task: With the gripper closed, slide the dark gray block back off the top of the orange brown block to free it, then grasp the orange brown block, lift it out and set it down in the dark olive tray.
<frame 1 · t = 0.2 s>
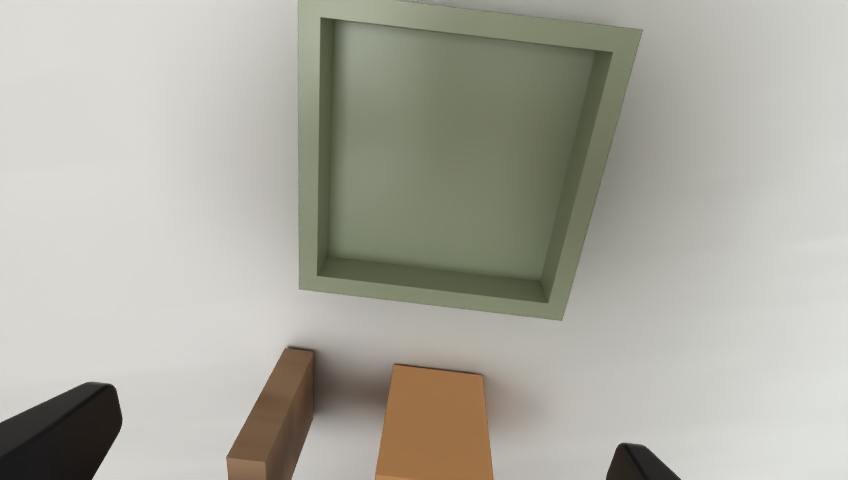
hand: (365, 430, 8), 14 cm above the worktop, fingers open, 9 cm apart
orange brown block: (433, 400, 26), on the worktop
wood grain block: (299, 384, 26), on the worktop
tray: (447, 161, 20), on the worktop
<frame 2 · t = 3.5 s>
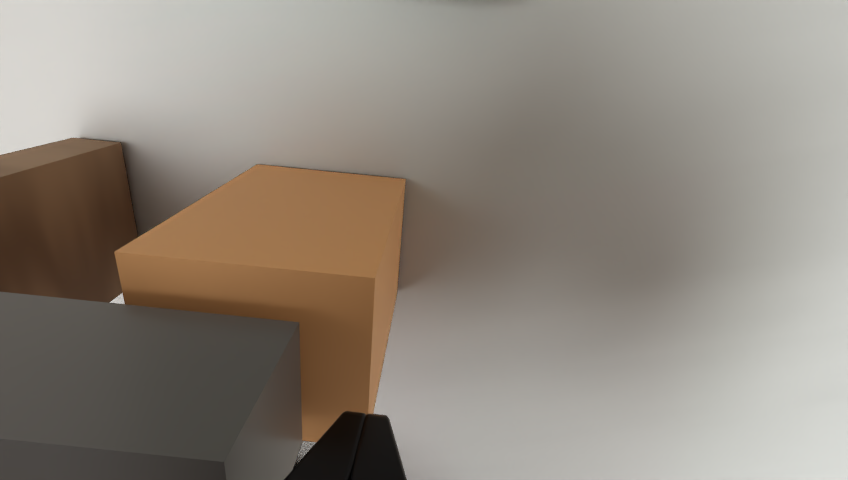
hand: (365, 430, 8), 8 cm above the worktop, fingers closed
orange brown block: (330, 232, 16), on the worktop
wood grain block: (111, 211, 16), on the worktop
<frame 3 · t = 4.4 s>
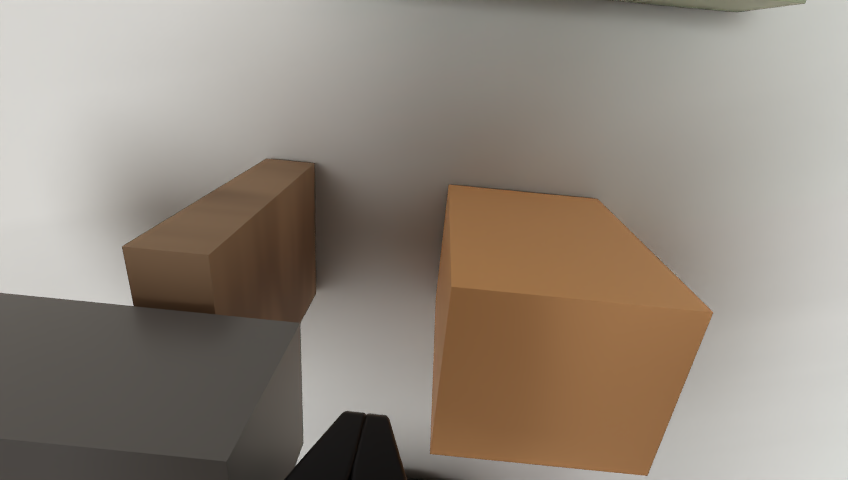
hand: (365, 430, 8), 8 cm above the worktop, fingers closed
orange brown block: (512, 251, 16), on the worktop
wood grain block: (292, 230, 16), on the worktop
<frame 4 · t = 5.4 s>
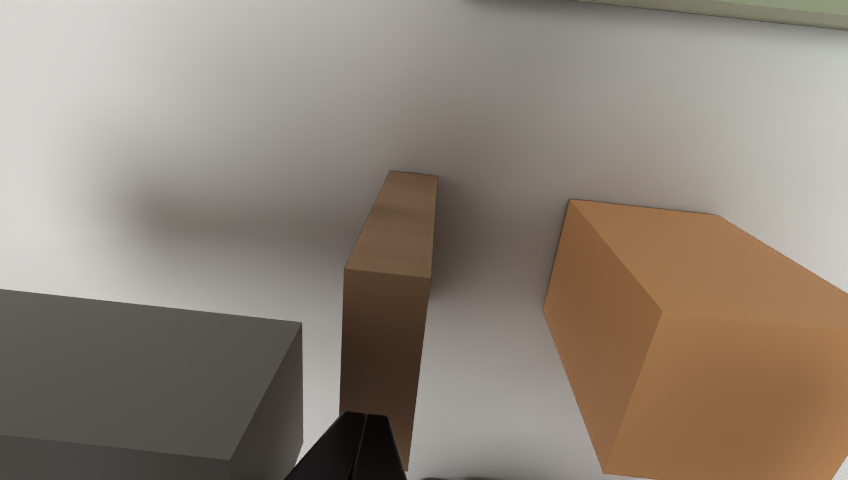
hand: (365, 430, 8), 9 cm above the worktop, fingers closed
orange brown block: (625, 265, 16), on the worktop
wood grain block: (407, 242, 16), on the worktop
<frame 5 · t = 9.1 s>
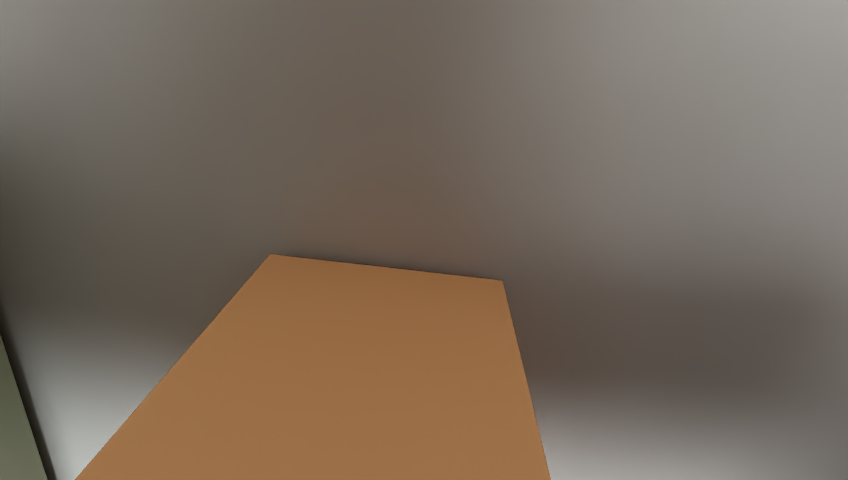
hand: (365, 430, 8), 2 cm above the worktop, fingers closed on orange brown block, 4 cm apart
orange brown block: (377, 373, 9), on the worktop, touching gripper
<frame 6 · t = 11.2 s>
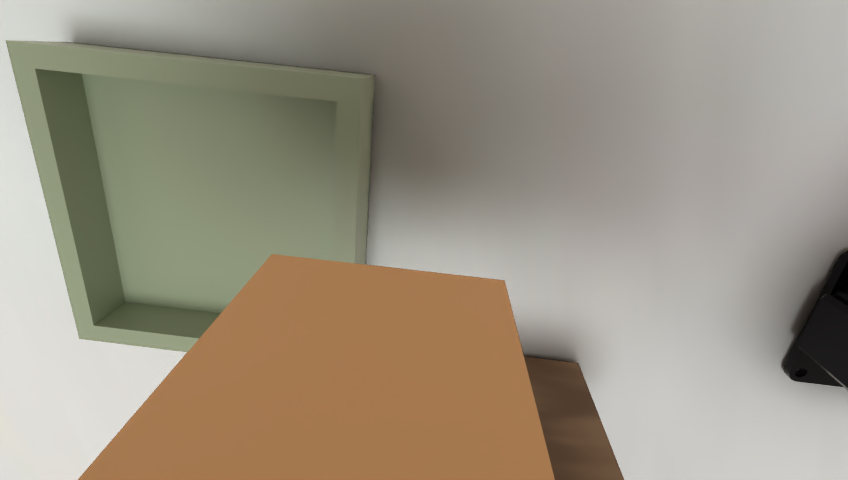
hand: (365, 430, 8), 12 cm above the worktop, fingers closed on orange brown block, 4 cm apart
orange brown block: (379, 373, 9), point 10 cm above the worktop, touching gripper
wood grain block: (523, 370, 22), on the worktop
tray: (231, 206, 19), on the worktop
when the fingers open (4 cm above the worktop, at t = 13.5 s): orange brown block drops 1 cm, resting on tray.
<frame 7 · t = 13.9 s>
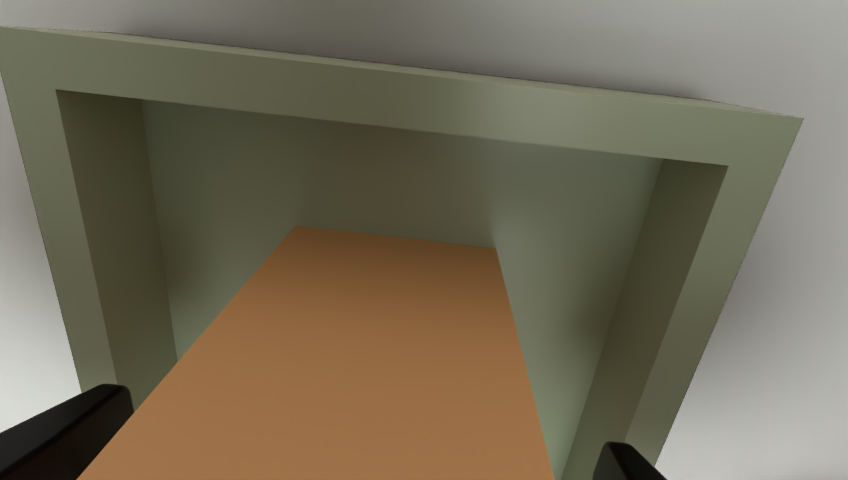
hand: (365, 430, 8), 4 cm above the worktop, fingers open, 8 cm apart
orange brown block: (387, 332, 11), point 1 cm above the worktop, touching tray
tray: (387, 319, 11), on the worktop
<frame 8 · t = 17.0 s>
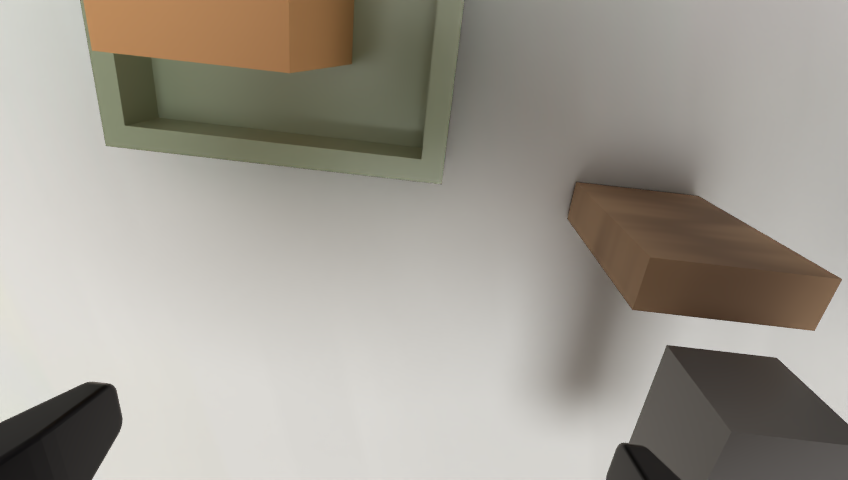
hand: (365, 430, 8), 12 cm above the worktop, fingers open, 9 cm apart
wood grain block: (631, 207, 19), on the worktop
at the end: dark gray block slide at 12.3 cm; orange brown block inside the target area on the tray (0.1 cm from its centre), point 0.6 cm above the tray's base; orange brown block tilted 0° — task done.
